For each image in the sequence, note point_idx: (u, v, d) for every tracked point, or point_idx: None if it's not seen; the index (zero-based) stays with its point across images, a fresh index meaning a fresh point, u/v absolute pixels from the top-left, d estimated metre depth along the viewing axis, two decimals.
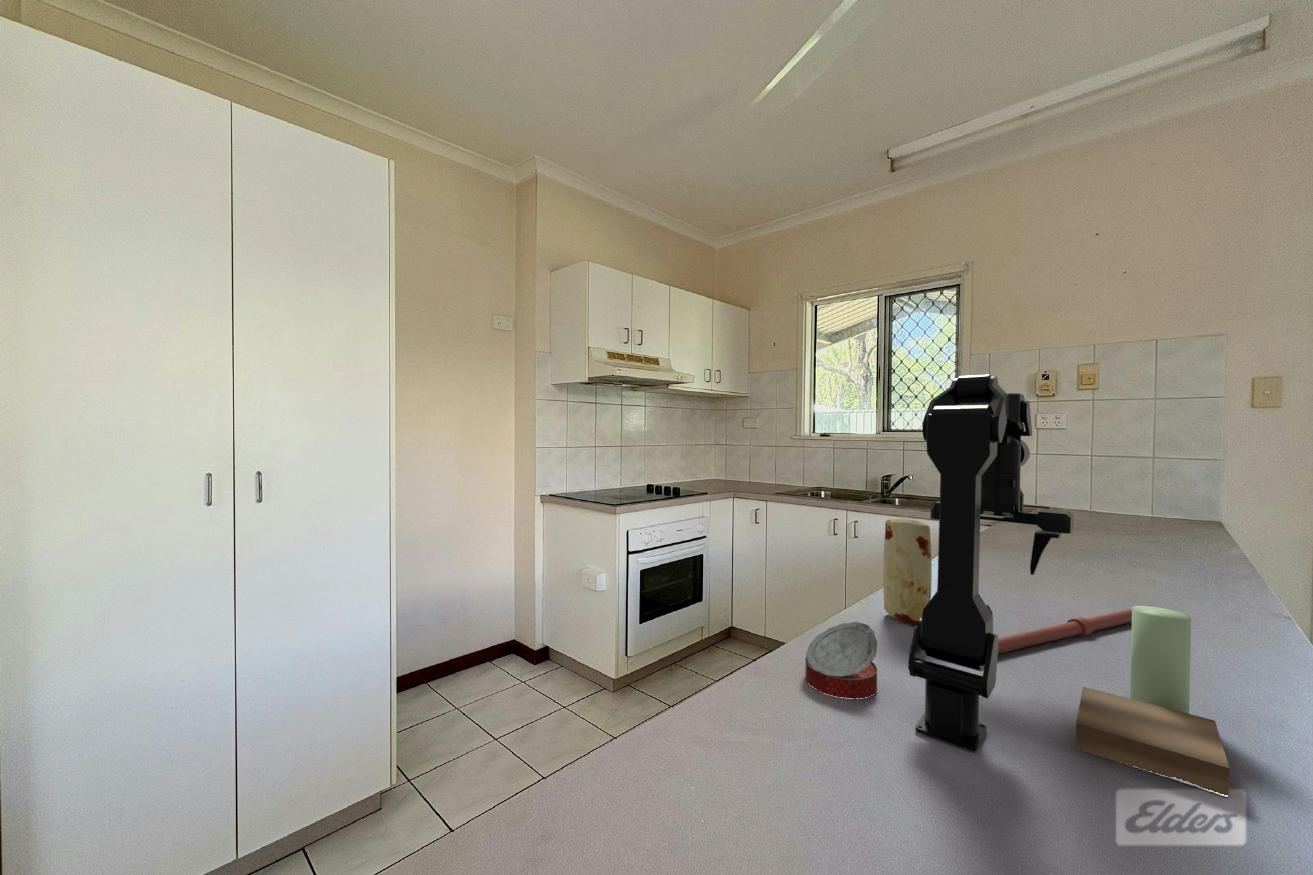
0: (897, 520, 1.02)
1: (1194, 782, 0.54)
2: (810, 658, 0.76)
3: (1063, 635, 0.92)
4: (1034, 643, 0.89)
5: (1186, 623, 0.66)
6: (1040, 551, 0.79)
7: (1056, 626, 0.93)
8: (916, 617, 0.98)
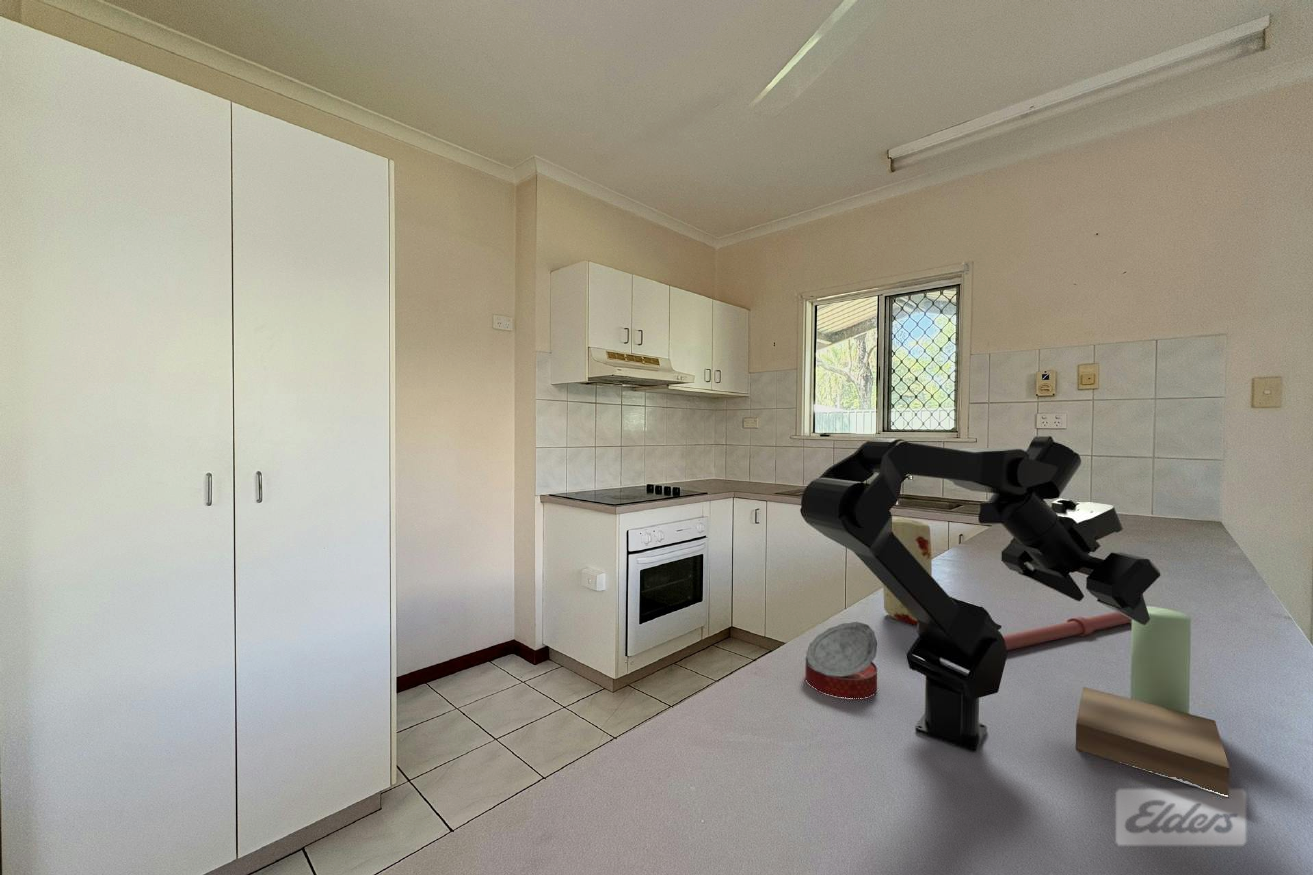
0: (897, 520, 1.02)
1: (1194, 782, 0.54)
2: (810, 658, 0.76)
3: (1062, 634, 0.93)
4: (1033, 642, 0.90)
5: (1186, 623, 0.66)
6: (1122, 613, 0.63)
7: (1055, 625, 0.93)
8: None
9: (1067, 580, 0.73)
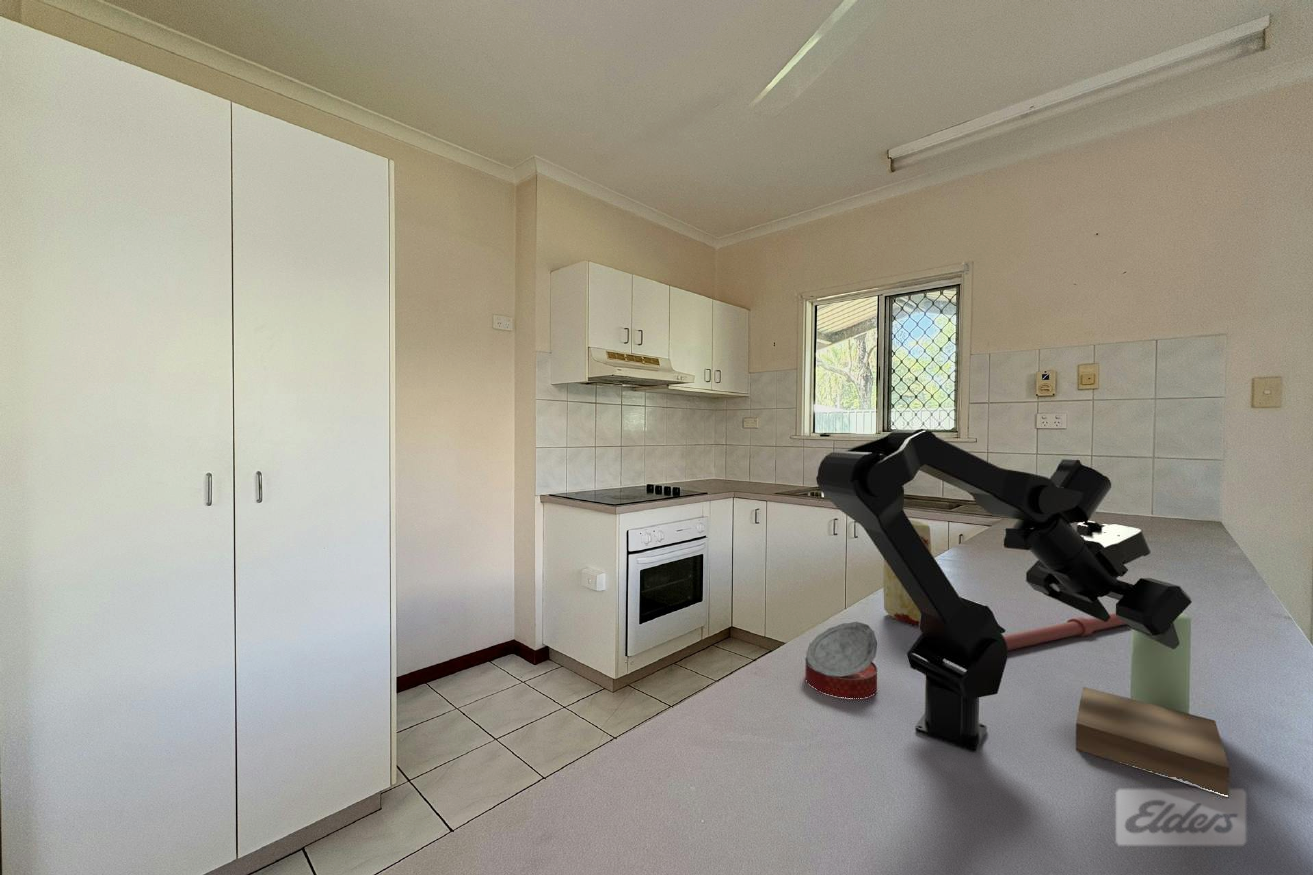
0: None
1: (1194, 782, 0.54)
2: (810, 658, 0.76)
3: (1062, 635, 0.93)
4: (1033, 643, 0.90)
5: (1186, 623, 0.66)
6: (1152, 638, 0.63)
7: (1055, 626, 0.93)
8: (916, 617, 0.98)
9: (1093, 601, 0.74)
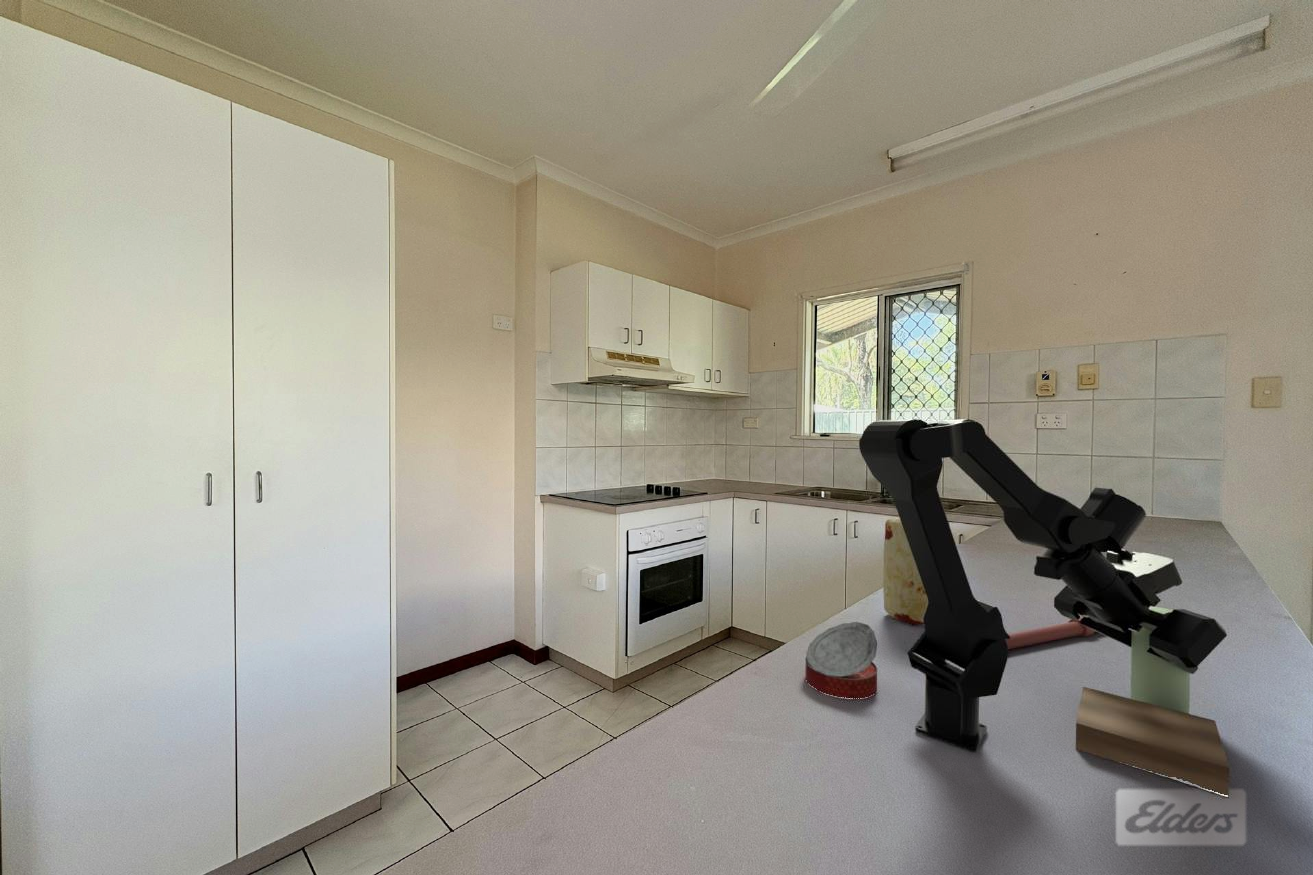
0: (897, 520, 1.02)
1: (1194, 782, 0.54)
2: (810, 658, 0.76)
3: (1063, 635, 0.92)
4: (1032, 642, 0.90)
5: None
6: (1171, 663, 0.65)
7: (1056, 626, 0.93)
8: (916, 617, 0.98)
9: None
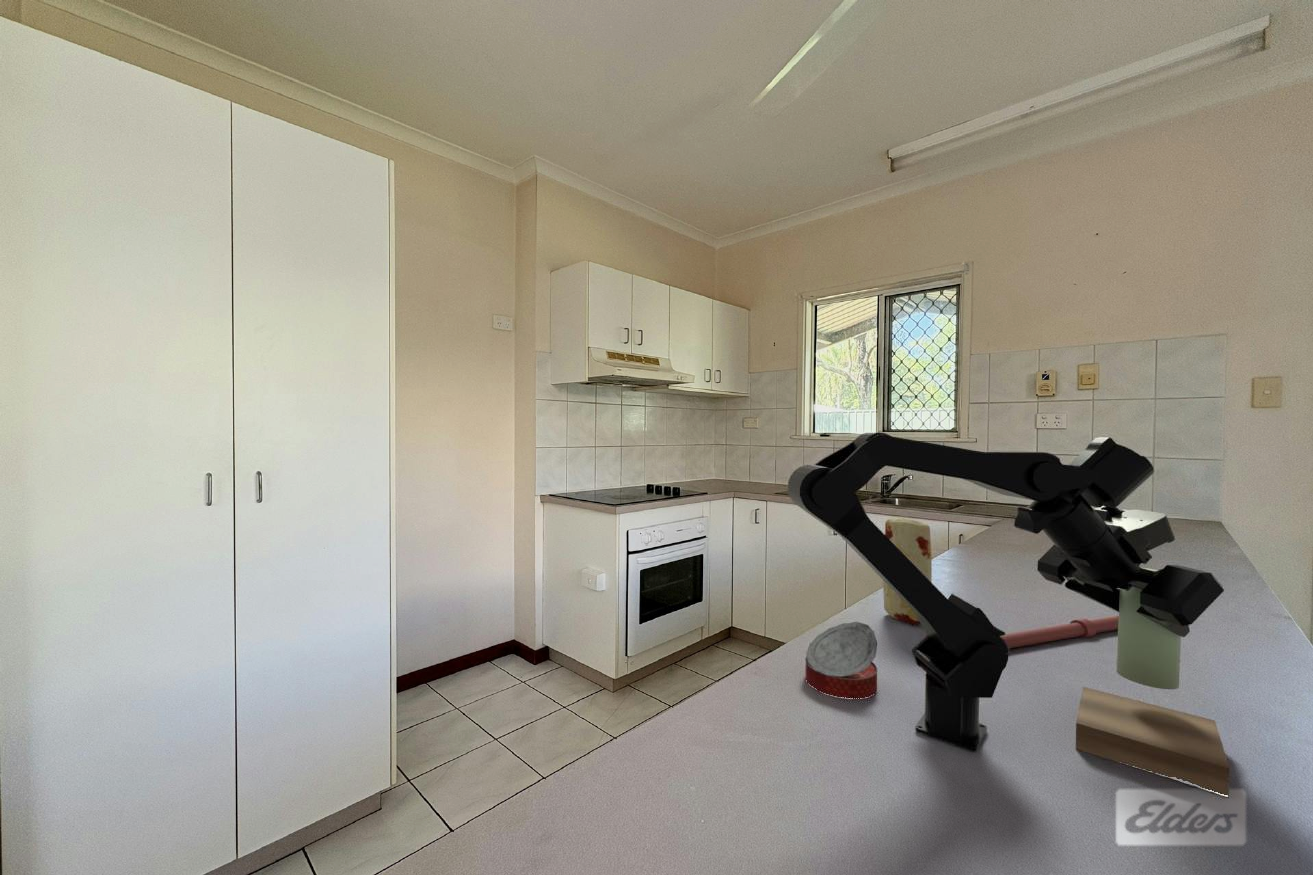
0: (897, 520, 1.02)
1: (1194, 782, 0.54)
2: (810, 658, 0.76)
3: (1063, 636, 0.92)
4: (1031, 643, 0.90)
5: None
6: (1162, 625, 0.60)
7: (1056, 627, 0.93)
8: (916, 617, 0.98)
9: None
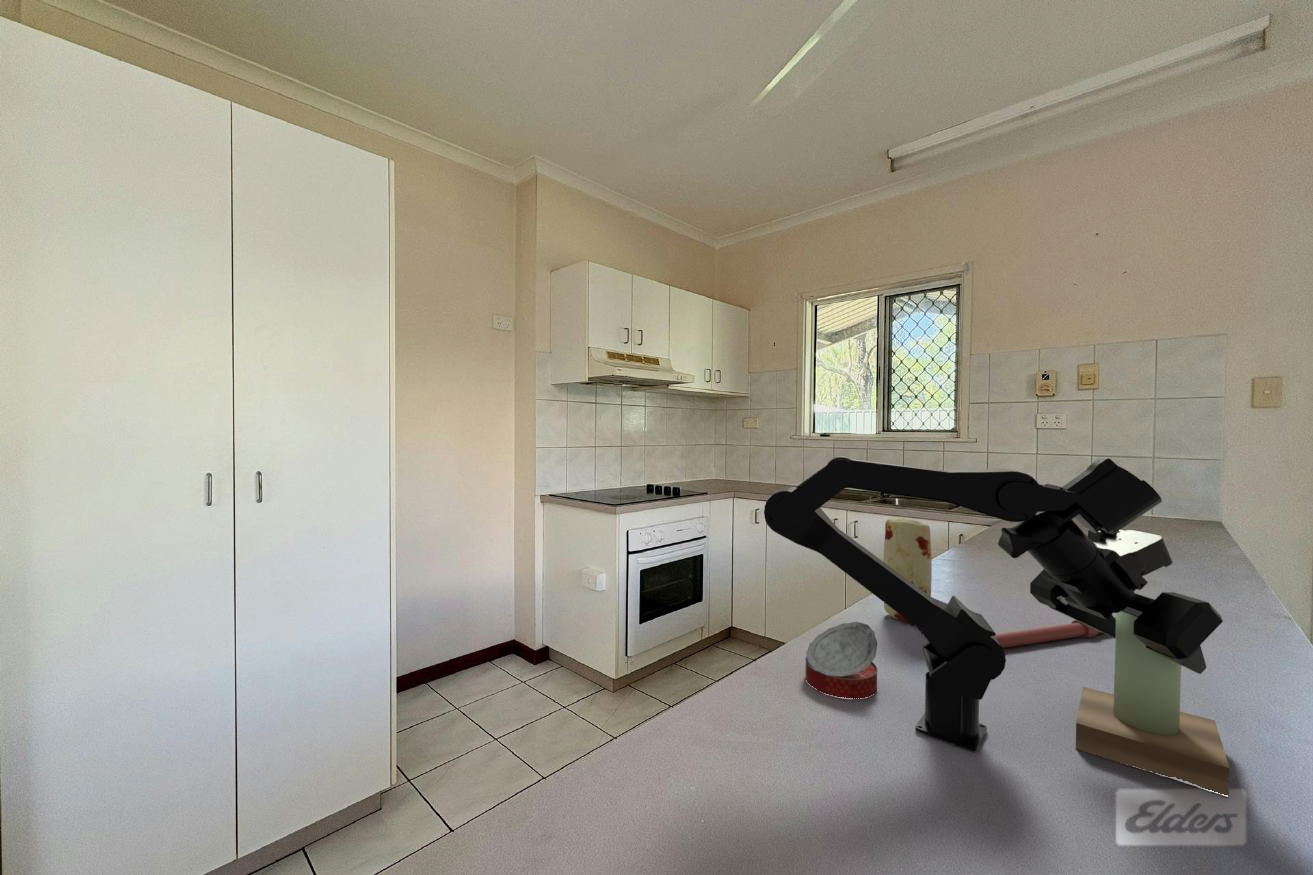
0: (897, 520, 1.02)
1: (1194, 782, 0.54)
2: (810, 658, 0.76)
3: (1063, 635, 0.92)
4: (1029, 642, 0.90)
5: None
6: (1175, 661, 0.55)
7: (1056, 626, 0.93)
8: None
9: None
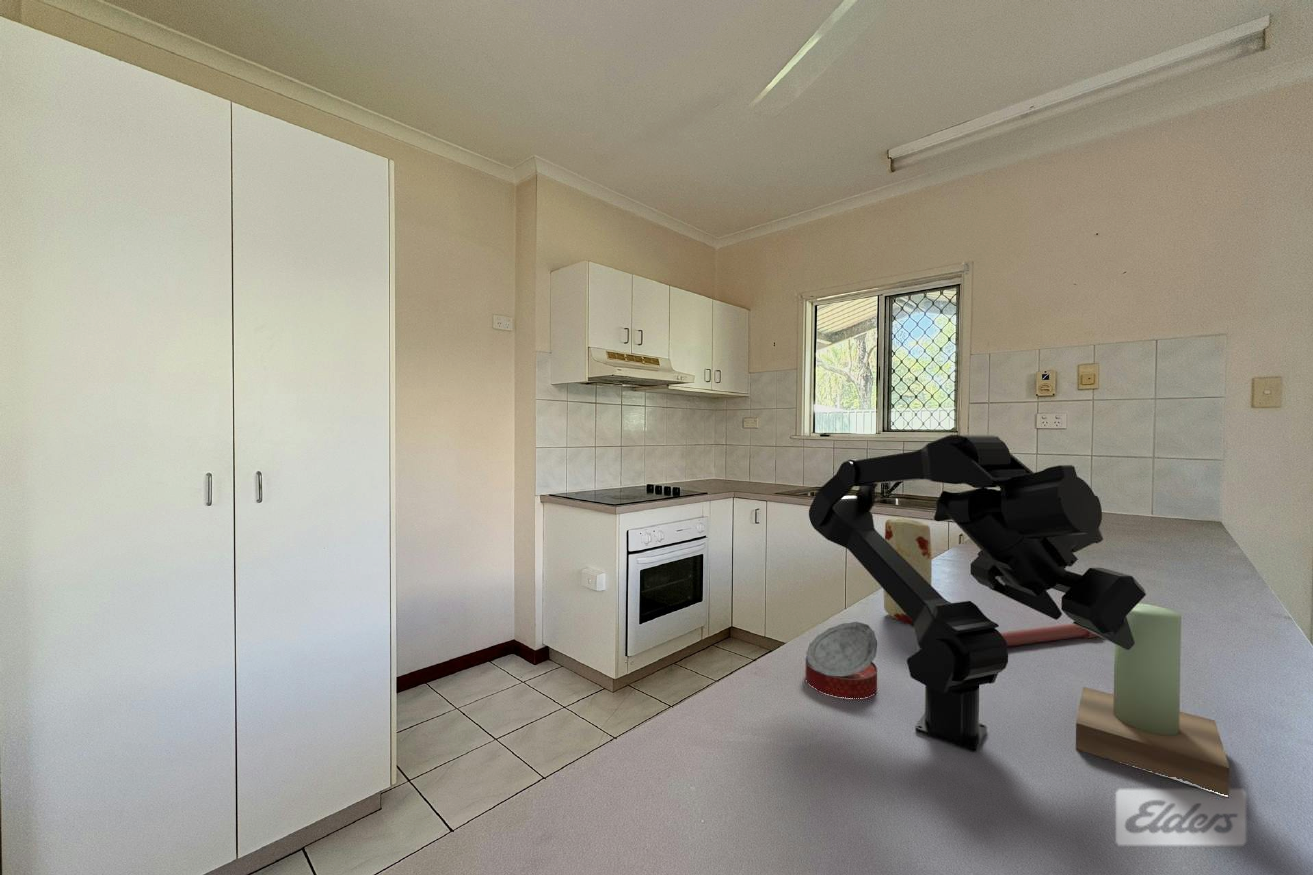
0: (897, 520, 1.02)
1: (1194, 782, 0.54)
2: (810, 658, 0.76)
3: (1063, 635, 0.92)
4: (1028, 641, 0.90)
5: (1176, 622, 0.58)
6: (1103, 637, 0.55)
7: (1056, 626, 0.93)
8: None
9: (1043, 596, 0.65)
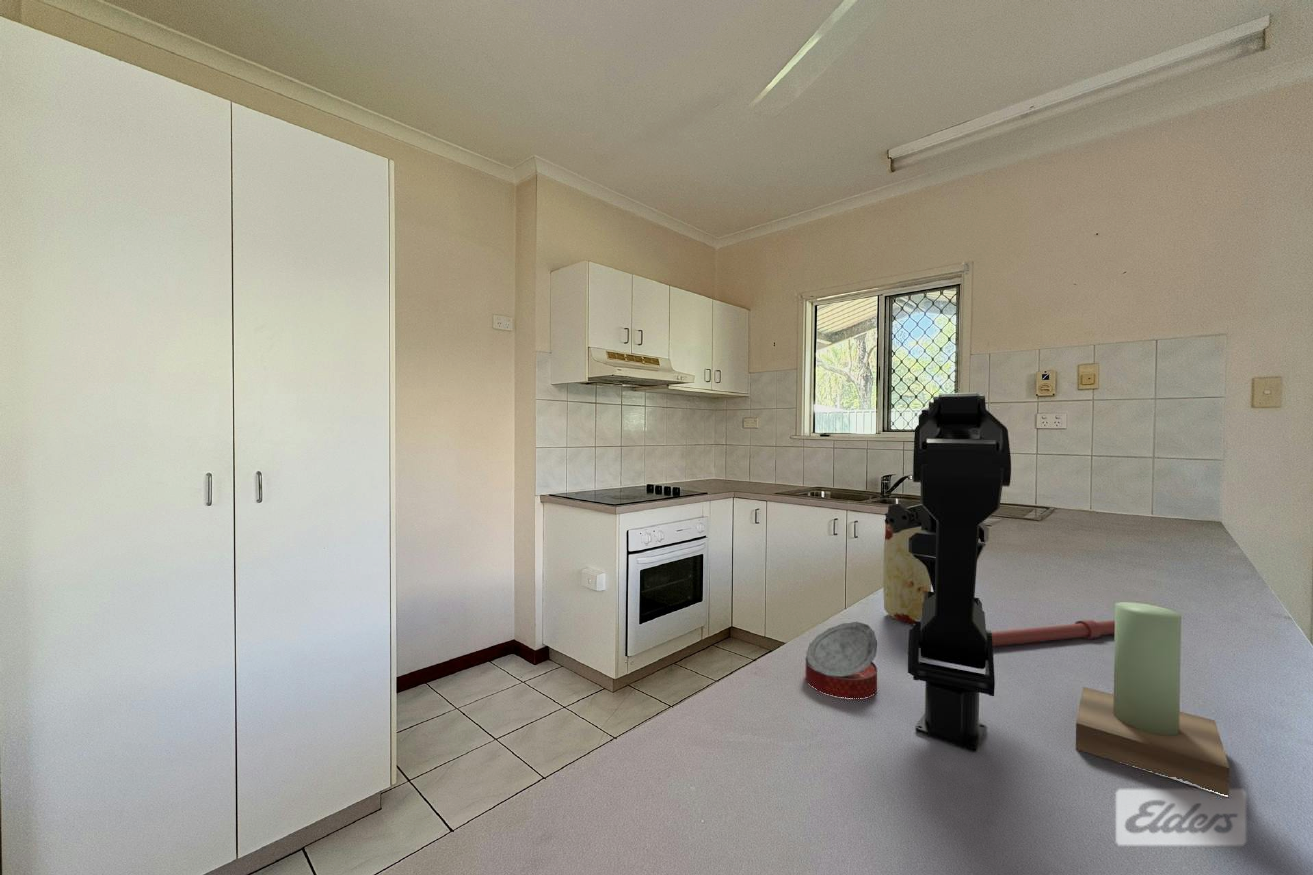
0: None
1: (1194, 782, 0.54)
2: (810, 658, 0.76)
3: (1063, 635, 0.92)
4: (1026, 640, 0.90)
5: (1176, 622, 0.58)
6: None
7: (1056, 626, 0.93)
8: (916, 617, 0.98)
9: None
